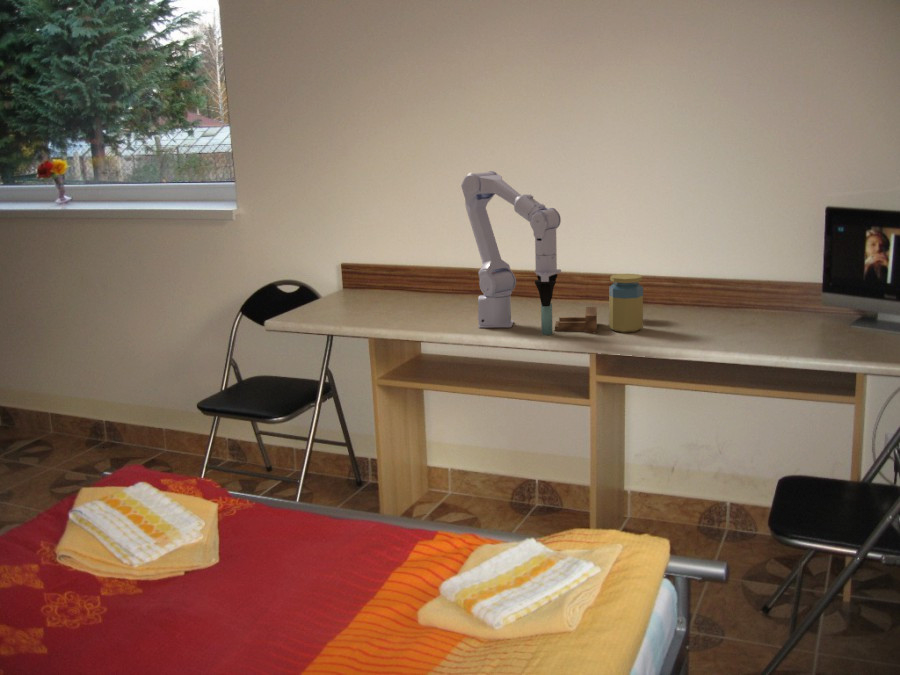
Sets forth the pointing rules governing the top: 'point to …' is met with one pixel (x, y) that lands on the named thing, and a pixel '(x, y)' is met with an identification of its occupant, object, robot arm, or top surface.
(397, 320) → the top surface
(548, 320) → the peg
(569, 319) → the cradle
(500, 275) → the robot arm
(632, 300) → the jar
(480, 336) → the top surface
